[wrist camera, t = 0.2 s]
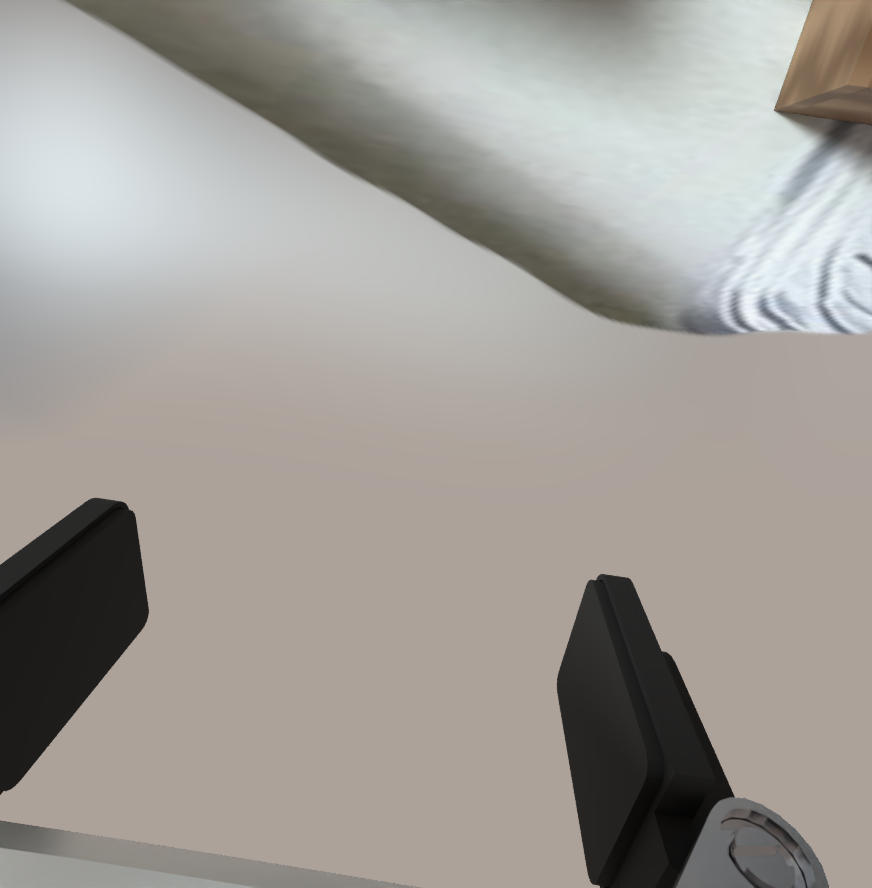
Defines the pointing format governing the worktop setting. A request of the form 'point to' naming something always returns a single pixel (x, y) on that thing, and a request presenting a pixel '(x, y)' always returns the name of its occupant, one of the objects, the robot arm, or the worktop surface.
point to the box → (832, 63)
